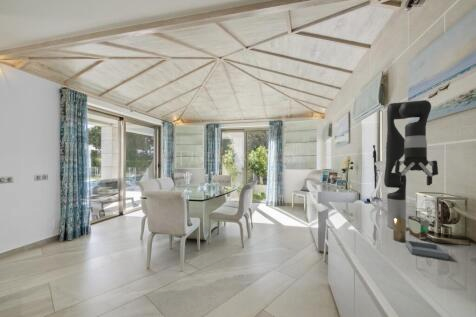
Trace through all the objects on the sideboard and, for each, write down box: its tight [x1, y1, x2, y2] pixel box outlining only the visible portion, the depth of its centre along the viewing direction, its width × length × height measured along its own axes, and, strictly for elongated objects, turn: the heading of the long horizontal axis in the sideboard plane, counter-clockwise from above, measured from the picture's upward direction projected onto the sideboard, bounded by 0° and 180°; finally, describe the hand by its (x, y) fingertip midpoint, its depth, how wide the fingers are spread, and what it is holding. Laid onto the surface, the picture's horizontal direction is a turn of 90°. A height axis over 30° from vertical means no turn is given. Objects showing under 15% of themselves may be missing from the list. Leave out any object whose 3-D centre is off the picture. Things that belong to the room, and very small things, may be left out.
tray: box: [405, 239, 449, 261], centre depth 95 cm, size 12×12×2 cm
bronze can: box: [392, 217, 407, 243], centre depth 110 cm, size 5×5×11 cm
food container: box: [407, 215, 431, 241], centre depth 115 cm, size 12×6×10 cm, turn 168°
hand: (415, 184), depth 94 cm, fingers open, 8 cm apart
